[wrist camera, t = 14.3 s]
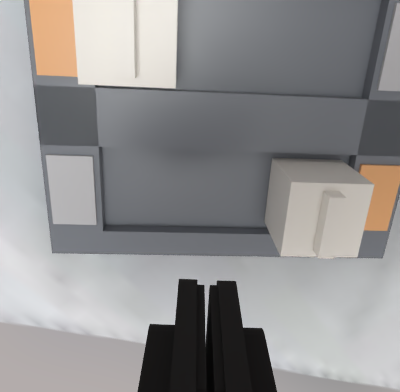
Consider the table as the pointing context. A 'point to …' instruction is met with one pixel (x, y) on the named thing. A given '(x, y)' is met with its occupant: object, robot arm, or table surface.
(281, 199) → the tab
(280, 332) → the table surface
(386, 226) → the switch board
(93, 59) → the tab
